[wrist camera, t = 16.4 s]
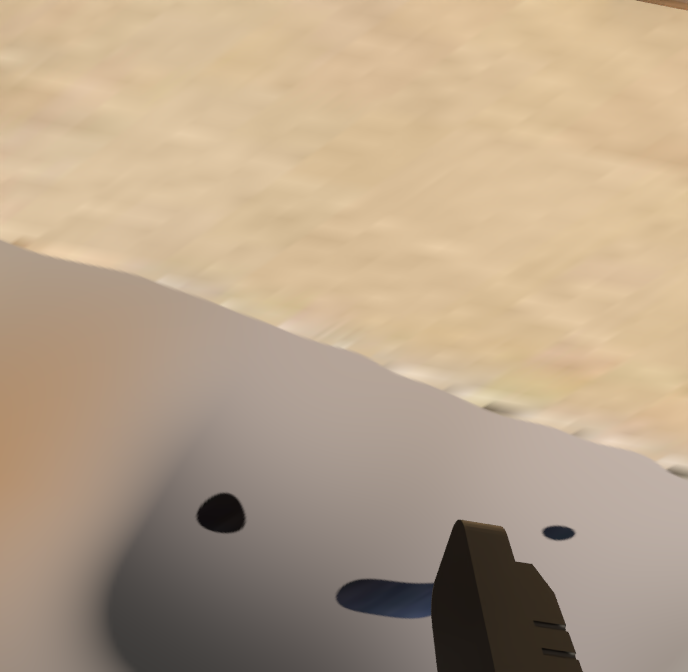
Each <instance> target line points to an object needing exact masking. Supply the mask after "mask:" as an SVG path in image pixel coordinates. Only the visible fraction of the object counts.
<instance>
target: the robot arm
mask: <svg viewBox="0 0 688 672" xmlns="http://www.w3.org/2000/svg"><path fill="white" fill-rule="evenodd" d="M431 618H432V628H433V637H434V645H435V654H436V663H437V671H438V672H583V671H582V669H581V666H580V663H579V661H578V660H576V658H575V654H576V652H575V649H574V646H573V644H572V641H571V638H570V635H569V633H568V632H566V629H565V627H566V624H565V621H564V619H563V616H562V613H561V610H560V608H559V605H558V602H557V599H556V597H555V594H554V592H553V591H552V590H551V588H550V587H549V586H548V584H547V583H546V582H545V581H544V579H543V578H542V576H541V575H540V574H539V572H538V571H537V570H536V568H535V567H534V566H533V565H532V564H528V563H521V562H515V559H514V556H513V553H512V549H511V546H510V543H509V540H508V536H507V534H506V531H505V529H503V527H501V526H496V525H490V524H483V523H477V522H471V521H465V520H457V521H456V523H455V524H454V526H453V529H452V532H451V535H450V538H449V541H448V544H447V546H446V549H445V552H444V555H443V558H442V561H441V564H440V567H439V570H438V573H437V576H436V579H435V582H434V586H433V592H432V602H431Z"/></svg>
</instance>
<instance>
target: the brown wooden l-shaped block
mask: <svg viewBox="0 0 688 672" xmlns="http://www.w3.org/2000/svg"><path fill="white" fill-rule="evenodd" d="M637 1H642V2H648V3H653V4H658V5H663V6H668V7H673V8H678V9H684V10H688V0H637Z"/></svg>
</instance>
